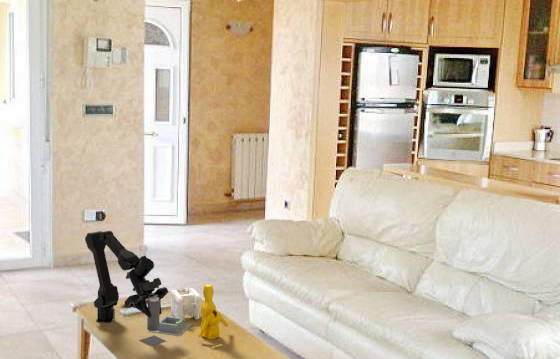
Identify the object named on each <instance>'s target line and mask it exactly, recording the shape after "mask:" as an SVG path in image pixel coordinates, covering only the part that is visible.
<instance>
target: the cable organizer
mask: <svg viewBox="0 0 560 359" xmlns="http://www.w3.org/2000/svg"><path fill="white" fill-rule="evenodd" d="M170 294H171V295H170V313H171V314H172V317H176V318H183V319H185V318H186V316H187V315H188V316H189V315H190V317H193V318H194V319H195V321H197V320H199V319H200V317H201V316H200V314H201V297H200V294H199V293H198V292H197V291H196V289H194V288H193V287H190V288H189V289H188V293H186V294H180V293H179V292H178V291H177V289H171V291H170Z"/></svg>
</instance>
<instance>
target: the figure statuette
mask: <svg viewBox="0 0 560 359" xmlns="http://www.w3.org/2000/svg"><path fill="white" fill-rule="evenodd" d="M214 291H215V290H214V287H213V285H211V284H206V285H204V286H203V298H204V302H203V305H202V306H201V308H200V314H201V323H200V329H199V330H200V331H199V333H198V337H199V338H201V337H202V338H206V339H208V340H216V339H217V338H219V337H220V326H219V324H220V323H221V324H222V325H223V326H224V327H225V328H226V327H229V324H228V322H227V321H226V320H225V319H224V317H223V316H222V315H221V312H219V311H217V307H216V305H215V302H214V301H213V297H214Z"/></svg>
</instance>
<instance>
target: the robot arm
mask: <svg viewBox="0 0 560 359" xmlns="http://www.w3.org/2000/svg"><path fill="white" fill-rule="evenodd" d="M84 241H85V244H86V246H87V249H88V250H89V251H90V252H91V253H92V256H93V260H94V265H95V270H96V275H97V278H98V282H99V288H98V289H97V298H96V299H94V301H93V306H94V308H96V309H97V315H96V316H97V318H96V320H95V321H96V322H98V323H111V322H113V321H114V319H115V318H116V309H115V308H114V307H116V306H118V303H119V298H120V293H119V290H118V287H117V285H114V284H113V283H112V280H111V275H110V271H109V265H108V262H107V257H106V253H105V252H106V251H105V250H106V248H107V247H108V248H109V249H110V251H111V252H112V253H113V254H114V255H115V257H116V259H117V264H118V265H119V267H120V269H122V271H123V272H124V271H128V272H127V273H126V276H125V279H126V280H128V279H129V280H130V283H131V284H132V287H133V288H132V291H133V292H136V294H132V295H129V296H128V297H127V298H126V299H125V300H124V304H123V305H124V306H125V308H126V309H129V308H132V307H133V308H134V309H137V310H138V311H140V312H142V314H144V315H145V316H148V317H149V318H150V317H151V314H150V311H149V309H148V304H147V301H148V300H149V297H152V296H156V297H159V300H160V315H162V304H161V302H162V301H161V300H162V299H164V297H166V296H167V294H168V293H169V292H170V291H169V289H168V288H167V287H165V286H163V287H160V286H162V281H161V278H159V277H157V278H153V280H152V281H150V280H149V279H146V276H148V275H149V273H150V272H151V271H152V270H153V269H154V268H155V263H154V261H153V260H152V259H151V258H148V257H147V256H146V255H142V256H140V257H138V255H137V254H135V252H133V251H130V250H127V248H125V246H124V245H123V244H122V243H121V242H120V241H119V240H118V239H117V238H116V235H114V232H113V231H112V230H105V231H104V230H103V231H102V230H99V231H92V232H88V233H87V234H86V236H85V239H84ZM154 291H155V292H154ZM146 300H147V301H146Z"/></svg>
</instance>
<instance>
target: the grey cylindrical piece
mask: <svg viewBox="0 0 560 359" xmlns="http://www.w3.org/2000/svg"><path fill="white" fill-rule="evenodd" d="M147 307H148V309H149V311H150V314H151V317H150V318H149V317H148V316H147V315H146V316H147V317H146V318H147V323H146V330H147V331H148V332H149V331H157V330H159V321H160V315H161V314H160V300H159V297H156V296H152V297H149V299H147Z"/></svg>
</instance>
